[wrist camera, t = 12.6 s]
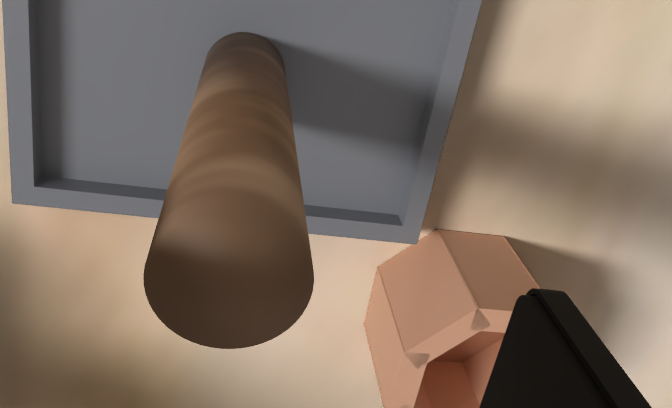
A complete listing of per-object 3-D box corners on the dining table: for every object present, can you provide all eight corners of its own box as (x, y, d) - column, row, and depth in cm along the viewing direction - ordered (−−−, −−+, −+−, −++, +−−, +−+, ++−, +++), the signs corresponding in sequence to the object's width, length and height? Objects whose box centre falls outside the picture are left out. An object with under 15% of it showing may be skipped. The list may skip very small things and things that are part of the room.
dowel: (290, 38, 23) (326, 217, 11) (279, 115, 25) (300, 353, 12) (207, 26, 23) (147, 198, 10) (200, 105, 24) (140, 343, 12)
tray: (481, -62, 23) (497, -58, 22) (408, 224, 28) (416, 244, 27) (15, -153, 21) (-6, -156, 19) (27, 183, 26) (12, 203, 24)
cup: (549, 240, 30) (613, 319, 24) (501, 371, 33) (548, 465, 28) (387, 223, 28) (417, 302, 23) (354, 361, 32) (374, 457, 26)
